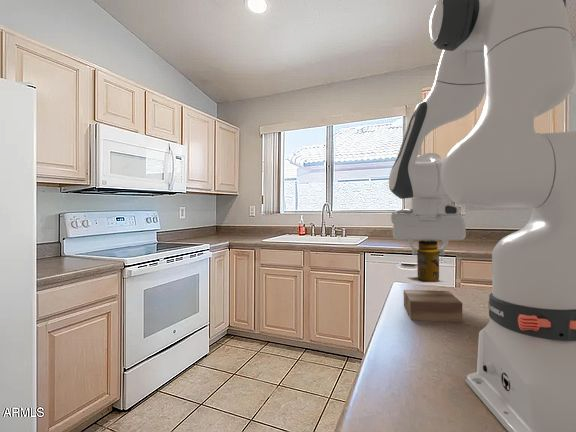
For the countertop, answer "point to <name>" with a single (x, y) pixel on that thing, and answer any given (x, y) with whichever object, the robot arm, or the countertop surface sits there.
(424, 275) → the condiment
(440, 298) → the walnut block
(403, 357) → the countertop surface
